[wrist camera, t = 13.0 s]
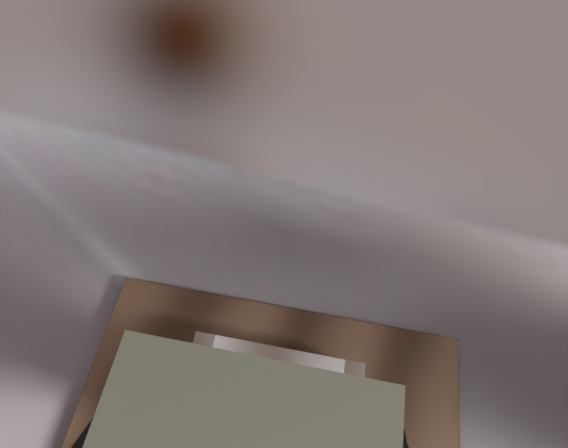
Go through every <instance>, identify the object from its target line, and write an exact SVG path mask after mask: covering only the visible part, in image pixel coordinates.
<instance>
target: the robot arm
mask: <svg viewBox="0 0 568 448" xmlns="http://www.w3.org/2000/svg"><path fill="white" fill-rule="evenodd" d="M92 420H93V418H92ZM92 420H91V421H90V422H89V424H88V425H87V426H86V428H85V429H84V430H83V432H82V433H81V435H80V436H79V437H78V439H77V440H76V441H75V443H74V444H73V445H72V447H71V448H82V447H83V445H84V442H85V439H86V436H87V434H88V431H89V428H90V425H91V423H92ZM403 448H409V447H408V444H407V438H406V434H405V430H404V433H403Z"/></svg>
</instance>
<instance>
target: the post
mask: <svg viewBox="0 0 568 448" xmlns="http://www.w3.org/2000/svg"><path fill="white" fill-rule="evenodd" d="M404 409H405V385H401V384H396V383H391V382H386V381H380V380H375V379H370V378H365V377H360V376H355V375H350V374H345V373H340V372H335V371H330V370H325V369H320V368H315V367H310V366H305V365H300V364H295V363H290V362H285V361H280V360H275V359H270V358H265V357H260V356H255V355H250V354H244V353H239V352H234V351H229V350H224V349H219V348H214V347H209V346H204V345H199V344H194V343H189V342H184V341H179V340H174V339H169V338H164V337H159V336H154V335H149V334H144V333H139V332H134V331H129V330H125V331H124V334H123V337H122V340H121V342H120V345H119V348H118V351H117V354H116V356H115V359H114V362H113V365H112V367H111V370H110V373H109V376H108V378H107V381H106V384H105V387H104V389H103V392H102V395H101V398H100V400H99V403H98V406H97V409H96V412H95V414H94V417H93V420H92V423H91V425H90V428H89V431H88V434H87V436H86V439H85V442H84V445H83V447H82V448H403V433H404Z"/></svg>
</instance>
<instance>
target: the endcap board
mask: <svg viewBox="0 0 568 448" xmlns="http://www.w3.org/2000/svg"><path fill="white" fill-rule="evenodd" d="M125 330H129V331H134V332H139V333H144V334H149V335H154V336H159V337H164V338H169V339H174V340H179V341H184V342H189V343H194V344H199V345H204V346H209V347H214V348H219V349H224V350H229V351H234V352H239V353H244V354H250V355H255V356H260V357H265V358H270V359H275V360H280V361H285V362H290V363H295V364H300V365H305V366H310V367H315V368H320V369H325V370H330V371H335V372H340V373H345V374H350V375H355V376H360V377H365V378H370V379H375V380H380V381H386V382H391V383H396V384H401V385H405V409H404V430H405V434H406V438H407V444H408V447H409V448H460V424H459V366H458V339H454V338H449V337H443V336H438V335H432V334H427V333H422V332H416V331H411V330H405V329H400V328H395V327H389V326H384V325H378V324H373V323H367V322H362V321H357V320H351V319H346V318H340V317H335V316H330V315H324V314H319V313H313V312H308V311H303V310H297V309H292V308H286V307H281V306H275V305H270V304H265V303H259V302H254V301H248V300H243V299H238V298H232V297H227V296H221V295H216V294H211V293H205V292H200V291H194V290H189V289H184V288H178V287H173V286H167V285H162V284H156V283H151V282H146V281H140V280H135V279H129V278H125V281H124V283H123V286H122V289H121V291H120V294H119V297H118V299H117V302H116V305H115V307H114V310H113V312H112V315H111V318H110V320H109V323H108V326H107V328H106V331H105V334H104V336H103V339H102V342H101V344H100V347H99V350H98V352H97V355H96V357H95V360H94V363H93V365H92V368H91V371H90V373H89V376H88V379H87V381H86V384H85V387H84V389H83V392H82V395H81V397H80V400H79V403H78V405H77V408H76V410H75V413H74V416H73V418H72V421H71V424H70V426H69V429H68V432H67V434H66V437H65V440H64V442H63V445H62V448H71V447H72V445H73V444H74V443H75V441H76V440H77V439H78V437H79V436H80V435H81V433H82V432H83V430H84V429H85V428H86V426H87V425H88V424H89V422H90V421H91V420H92V418H93V417H94V414H95V412H96V409H97V406H98V403H99V400H100V398H101V395H102V392H103V389H104V387H105V384H106V381H107V378H108V376H109V373H110V370H111V367H112V365H113V362H114V359H115V356H116V354H117V351H118V348H119V345H120V342H121V340H122V337H123V334H124V331H125Z"/></svg>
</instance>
